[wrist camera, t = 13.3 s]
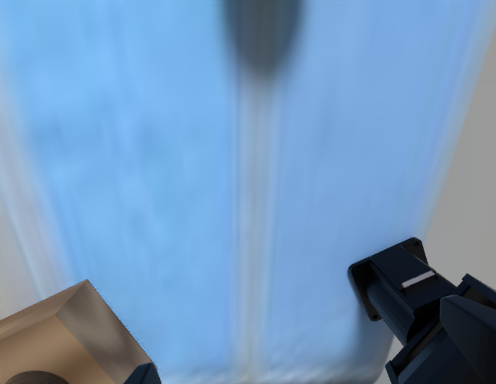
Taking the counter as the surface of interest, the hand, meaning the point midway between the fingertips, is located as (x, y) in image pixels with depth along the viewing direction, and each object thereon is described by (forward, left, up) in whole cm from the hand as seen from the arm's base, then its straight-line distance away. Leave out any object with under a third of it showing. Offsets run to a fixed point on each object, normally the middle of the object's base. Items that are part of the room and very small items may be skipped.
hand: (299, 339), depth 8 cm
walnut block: (-5, +21, -13) cm, 25 cm away
